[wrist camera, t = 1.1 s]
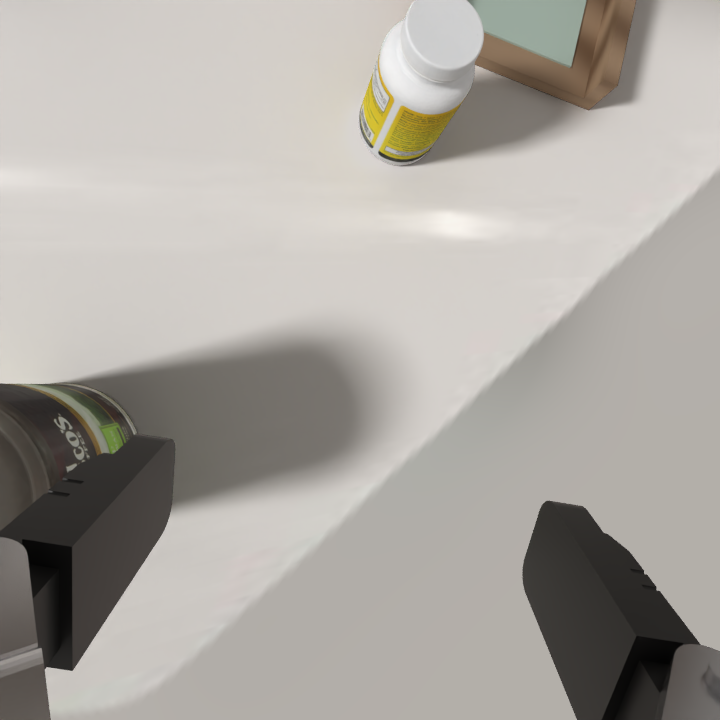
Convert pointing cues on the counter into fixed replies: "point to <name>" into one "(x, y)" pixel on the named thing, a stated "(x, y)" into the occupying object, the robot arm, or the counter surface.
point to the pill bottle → (420, 79)
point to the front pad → (535, 25)
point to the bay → (590, 62)
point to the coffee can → (51, 438)
